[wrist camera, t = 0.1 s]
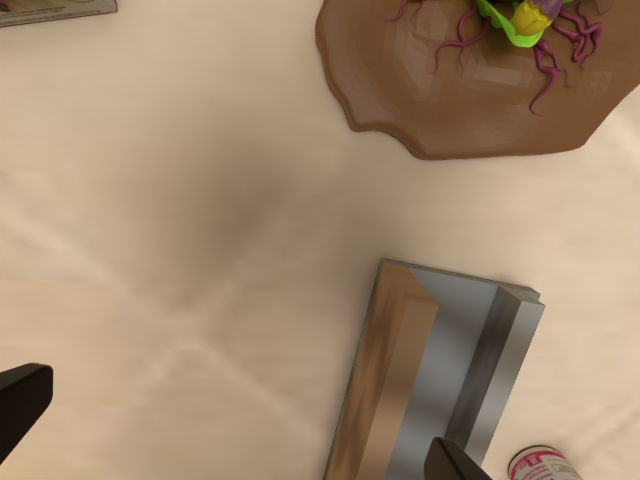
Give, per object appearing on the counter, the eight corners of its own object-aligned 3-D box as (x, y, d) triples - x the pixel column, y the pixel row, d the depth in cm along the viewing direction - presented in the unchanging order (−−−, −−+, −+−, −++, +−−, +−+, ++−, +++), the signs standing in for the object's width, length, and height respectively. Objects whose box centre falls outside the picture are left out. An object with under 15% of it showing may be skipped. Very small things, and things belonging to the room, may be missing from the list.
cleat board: (441, 519, 27) (481, 639, 20) (317, 499, 26) (316, 613, 20) (531, 288, 22) (624, 342, 15) (381, 258, 22) (408, 299, 15)
